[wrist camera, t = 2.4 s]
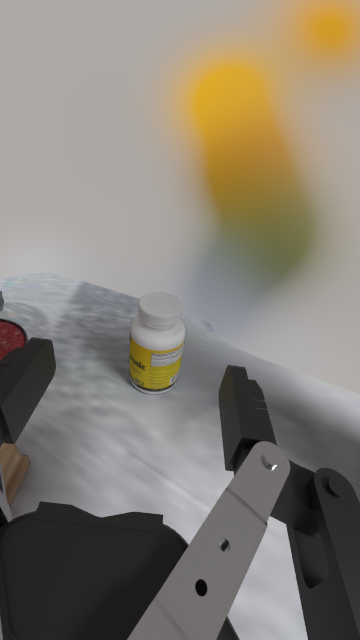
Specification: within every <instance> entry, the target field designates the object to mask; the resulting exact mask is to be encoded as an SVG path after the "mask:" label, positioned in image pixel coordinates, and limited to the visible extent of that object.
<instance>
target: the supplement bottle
mask: <svg viewBox="0 0 360 640" xmlns="http://www.w3.org/2000/svg"><path fill="white" fill-rule="evenodd" d="M182 309H183V306H182V303H181V301H180V300H179V299H178V298H177V297H175V296H173V295H170V294H167V293H161V292H154V293H149V294H146V295H144V296H143V297H142V298H141V299H140V300H139V308H138V316H136V317H135V318H134V320H133V321H132V324H131V329H130V365H129V376H130V380H131V382H132V384H133V385H134V387H135V388H137V389H138V390H139V391H141V392H143V393H146V394H162V393H165V392H167V391H169V390H170V389H172V388H173V387H174V386H175V384H176V382H177V379H178V375H179V370H180V364H181V358H182V353H183V347H184V342H185V336H186V327H185V324H184V322H183V321H182V320H181V316H182Z"/></svg>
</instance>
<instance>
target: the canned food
mask: <svg viewBox="0 0 360 640" xmlns="http://www.w3.org/2000/svg"><path fill="white" fill-rule="evenodd" d="M3 305H4V300H3V297H2V291H0V312H1V311H2V309H3ZM27 342H28V336H27V334H26V331H25V330H24V329H23V328H22V327H21V326H20V325H18V324H17V323H15V322H12V321H10V320H6V319H1V318H0V361H1V360H2V359H3V357H4V356H5V355H6V354H8V353H9V352H11V351H12V350H14V349H16V348H17V347H19V348H23V347H24V346H25V345H26V344H27Z"/></svg>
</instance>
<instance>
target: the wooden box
mask: <svg viewBox="0 0 360 640" xmlns="http://www.w3.org/2000/svg"><path fill="white" fill-rule="evenodd" d="M0 463H1V469H2V475H3V480H4V486H5V492H6V498H7V502H8V505H9V507H10V505H11V503H12V501H13V498H14V496H15V494H16V492H17V490H18V488H19V486H20V484H21V482H22V480H23V478H24V476H25V474H26V472H27V470H28V468H29V466H30V464H31V462H30V460H29V457H28V455H21V454H20V453H19V451H18V449H17V446H16V444H7V443H3V445H2V446H1V448H0Z"/></svg>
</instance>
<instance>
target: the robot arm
mask: <svg viewBox="0 0 360 640" xmlns="http://www.w3.org/2000/svg"><path fill="white" fill-rule="evenodd" d="M55 369H56V363H55V356H54V350H53V344H52V341H51V340H48V339H41V338H34V337H33V338H31V339H30V340H29V341H28V342H27V344H26V345H25V346H24V347H23V348H19V347H17V348H16V349H14V350H12V351H11V352H9V353H8V354H6V355H5V356H4V357H3V359H2V360H1V361H0V448H1V446H2V445H3V443H7V444H15V442H16V441H17V439H18V437H19V435H20V434H21V432H22V430H23V429H24V427H25V425H26V423H27V422H28V420H29V418H30V416H31V415H32V413H33V411H34V410H35V408H36V406H37V404H38V403H39V401H40V399H41V397H42V396H43V394H44V392H45V390H46V389H47V387H48V385H49V384H50V382H51V380H52V378H53V376H54V373H55ZM219 408H220V418H221V428H222V438H223V449H224V459H225V469H226V470H227V471H234V478H233V479H232V481H231V482H230V484H229V485H228V487H227V488H226V489H225V490H224V492H223V493H222V495H221V496H220V498H219V500H218V501H217V503H216V504H215V506H214V507H213V509H212V510H211V512H210V513H209V515H208V517H207V518H206V520H205V521H204V523H203V524H202V526H201V527H200V529H199V530H198V532H197V534H196V535H195V537H194V538H193V540H192V541H191V543H190V544H189V545H188V543H187V542H186V541H185V540H184V539H183V538H182V536H181V535H179V534H178V533H177V532H176V531H175V530H173V529H172V528H170V527H169V526H167V525H165V524H163V515H160V514H151V513H141V512H129V513H124V514H119V515H113V516H108V517H102V518H100V517H97V516H94V515H92V514H90V513H88V512H86V511H83V510H81V509H79V508H77V507H75V506H72V505H67V504H58V503H49V502H40V503H39V506H38V508H37V511H34V512H30V513H27V514H24V515H22V516H19V517H17V518H15V519H13V520H12V516H11V512H10V508H9V505H8V502H7V498H6V492H5V486H4V480H3V475H2V469H1V463H0V640H240V639H239V638H238V636H237V634H236V632H235V630H234V628H233V626H232V624H231V622H230V621H229V619H228V617H227V615H228V612H229V610H230V608H231V606H232V604H233V601H234V599H235V597H236V595H237V593H238V590H239V588H240V586H241V584H242V582H243V579H244V577H245V575H246V573H247V571H248V569H249V566H250V564H251V562H252V560H253V558H254V555H255V553H256V551H257V549H258V547H259V544H260V542H261V540H262V538H263V536H264V533H265V531H266V528H267V520H268V518H269V516H271V517H273V518H275V519H277V520H279V521H281V522H283V523H285V524H286V526H287V531H288V537H289V542H290V547H291V552H292V558H293V563H294V568H295V573H296V579H297V584H298V589H299V594H300V600H301V605H302V610H303V615H304V621H305V626H306V631H307V636H308V640H360V503H359V500H358V498H357V496H356V493H355V491H354V489H353V487H352V486H351V484H350V483H349V482H348V480H347V479H346V478H345V477H343V476H342V475H341V474H340V473H338V472H336V471H335V470H332V469H329V468H321V469H319V470H317V472H316V473H315V472H312V471H310V470H308V469H306V468H303V467H301V466H299V465H297V464H295V463H293V462H291V461H290V460H289V459H288V457H287V456H286V454H285V453H284V451H283V450H282V449H281V448H279V447H278V446H277V443H276V440H275V437H274V433H273V429H272V426H271V422H270V418H269V414H268V411H267V407H266V403H265V402H264V396H263V392H262V389H261V388H260V387H259V385H258V384H257V382H256V381H255V380H249V379H248V377H247V372H246V369H245V367H238V366H231V365H228V366H227V369H226V372H225V375H224V377H223V380H222V383H221V386H220V390H219Z"/></svg>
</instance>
